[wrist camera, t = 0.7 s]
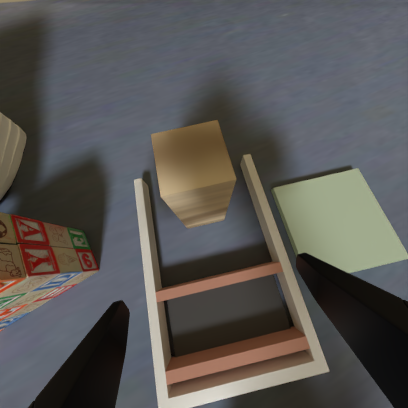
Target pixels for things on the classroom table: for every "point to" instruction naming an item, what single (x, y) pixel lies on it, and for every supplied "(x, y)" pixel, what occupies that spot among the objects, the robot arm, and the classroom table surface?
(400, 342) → the robot arm
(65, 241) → the stack of blocks
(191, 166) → the maple block
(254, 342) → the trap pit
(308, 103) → the classroom table surface
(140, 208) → the channel
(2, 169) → the cream rounded foam block
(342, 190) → the green pad
